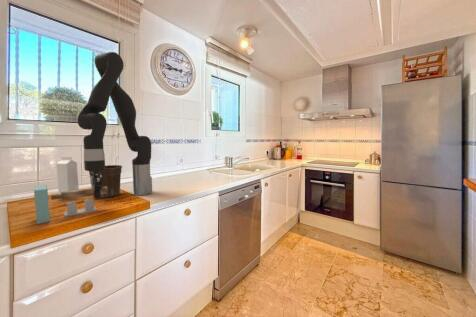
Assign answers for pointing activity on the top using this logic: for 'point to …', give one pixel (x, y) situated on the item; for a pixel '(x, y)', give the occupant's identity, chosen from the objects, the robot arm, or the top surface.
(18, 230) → the top surface
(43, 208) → the teal rectangular frame
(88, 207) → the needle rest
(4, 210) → the top surface
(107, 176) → the plant pot
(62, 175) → the milk
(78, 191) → the needle
